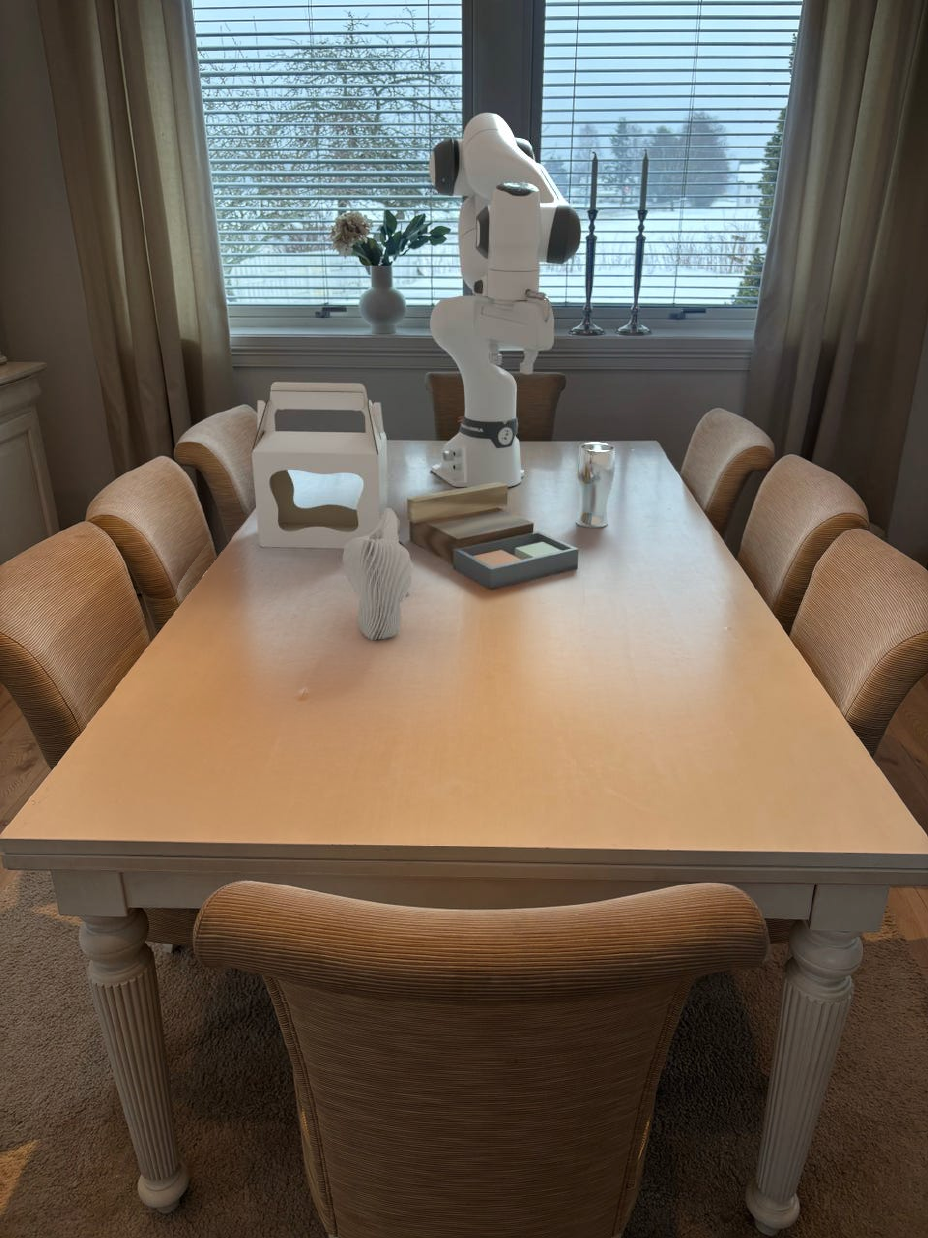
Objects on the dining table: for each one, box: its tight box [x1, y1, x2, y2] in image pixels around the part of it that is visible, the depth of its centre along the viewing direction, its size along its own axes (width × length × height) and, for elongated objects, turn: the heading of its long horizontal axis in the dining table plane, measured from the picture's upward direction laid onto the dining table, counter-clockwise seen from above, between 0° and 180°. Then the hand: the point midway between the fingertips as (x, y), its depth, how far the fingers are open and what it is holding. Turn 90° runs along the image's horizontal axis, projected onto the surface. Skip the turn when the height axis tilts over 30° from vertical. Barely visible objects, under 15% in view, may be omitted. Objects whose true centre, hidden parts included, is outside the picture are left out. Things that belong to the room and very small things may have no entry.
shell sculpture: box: [342, 507, 414, 641], centre depth 129 cm, size 8×8×18 cm
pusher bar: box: [406, 482, 509, 524], centre depth 168 cm, size 2×20×4 cm, turn 123°
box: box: [452, 530, 580, 591], centre depth 157 cm, size 11×18×4 cm, turn 123°
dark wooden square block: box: [408, 507, 535, 565], centre depth 167 cm, size 16×16×5 cm
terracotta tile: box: [473, 550, 521, 567], centre depth 154 cm, size 6×6×2 cm
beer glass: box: [575, 442, 616, 529], centre depth 177 cm, size 7×7×15 cm
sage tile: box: [515, 542, 562, 560], centre depth 158 cm, size 6×6×2 cm
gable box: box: [251, 381, 389, 550], centre depth 166 cm, size 22×13×28 cm, turn 88°
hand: (510, 368), depth 166 cm, fingers open, 8 cm apart
